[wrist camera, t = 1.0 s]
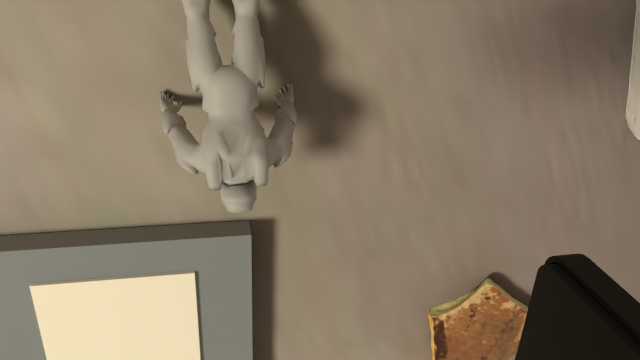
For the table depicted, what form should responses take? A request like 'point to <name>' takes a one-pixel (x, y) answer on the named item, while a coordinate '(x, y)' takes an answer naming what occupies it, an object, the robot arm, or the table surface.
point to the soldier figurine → (229, 109)
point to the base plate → (128, 293)
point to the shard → (477, 325)
